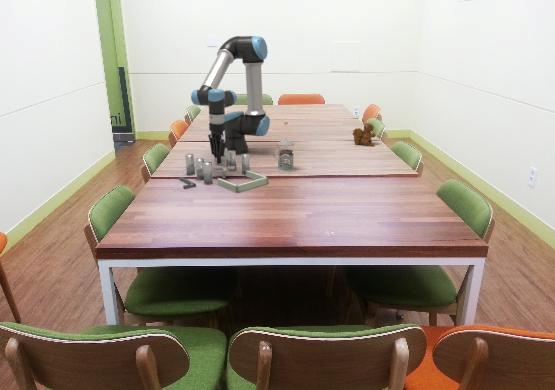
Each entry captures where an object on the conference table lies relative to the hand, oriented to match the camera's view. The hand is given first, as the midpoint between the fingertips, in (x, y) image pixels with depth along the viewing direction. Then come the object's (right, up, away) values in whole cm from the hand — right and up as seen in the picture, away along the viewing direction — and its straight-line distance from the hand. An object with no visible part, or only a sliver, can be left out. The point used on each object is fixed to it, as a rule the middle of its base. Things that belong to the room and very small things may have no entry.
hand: (217, 169), depth 224 cm
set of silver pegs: (-1, -2, +3) cm, 4 cm away
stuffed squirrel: (+83, +19, +57) cm, 103 cm away
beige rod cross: (+3, -4, -2) cm, 6 cm away
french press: (+33, 0, +10) cm, 35 cm away
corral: (+13, -7, -11) cm, 19 cm away
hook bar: (-15, -8, -11) cm, 20 cm away
